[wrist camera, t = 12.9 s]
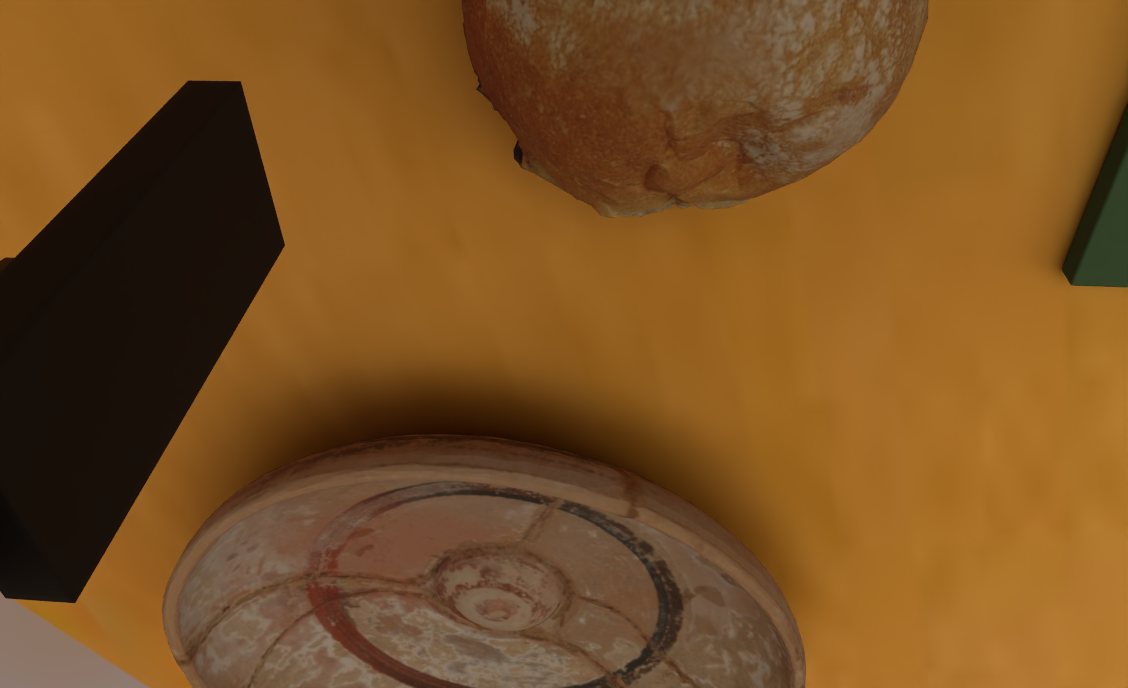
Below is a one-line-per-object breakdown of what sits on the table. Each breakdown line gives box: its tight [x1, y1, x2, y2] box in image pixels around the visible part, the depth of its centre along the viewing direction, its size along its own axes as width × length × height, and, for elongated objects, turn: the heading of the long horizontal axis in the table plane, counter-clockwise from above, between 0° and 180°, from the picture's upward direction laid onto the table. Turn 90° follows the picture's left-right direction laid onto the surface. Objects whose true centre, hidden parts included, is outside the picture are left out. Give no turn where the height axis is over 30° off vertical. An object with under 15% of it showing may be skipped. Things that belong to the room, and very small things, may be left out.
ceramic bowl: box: [162, 434, 806, 688], centre depth 35 cm, size 23×24×5 cm
